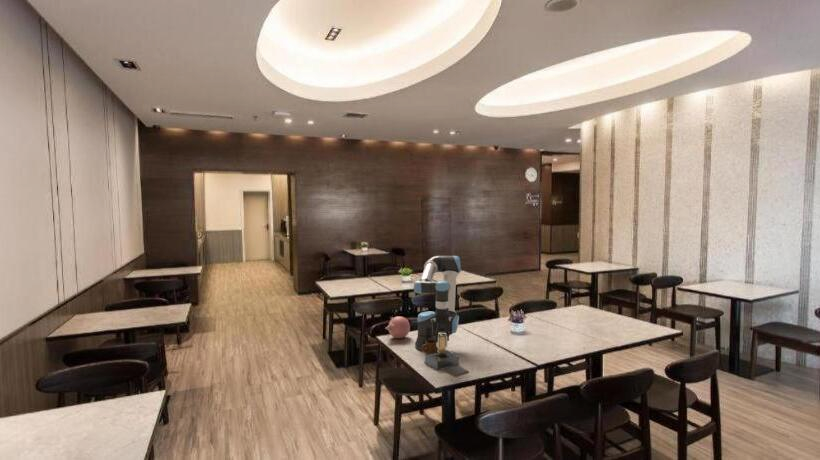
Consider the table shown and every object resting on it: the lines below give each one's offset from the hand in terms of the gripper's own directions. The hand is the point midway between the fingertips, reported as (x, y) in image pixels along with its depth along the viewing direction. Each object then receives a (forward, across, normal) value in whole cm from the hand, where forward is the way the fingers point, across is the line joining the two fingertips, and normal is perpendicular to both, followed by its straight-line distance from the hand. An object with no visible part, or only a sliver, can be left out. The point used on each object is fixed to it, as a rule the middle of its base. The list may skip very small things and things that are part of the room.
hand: (441, 346), depth 237 cm
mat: (+10, +4, -12) cm, 17 cm away
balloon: (+11, -16, +52) cm, 55 cm away
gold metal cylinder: (+7, 0, 0) cm, 7 cm away
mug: (+11, -4, +12) cm, 17 cm away
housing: (+10, 0, 0) cm, 10 cm away
